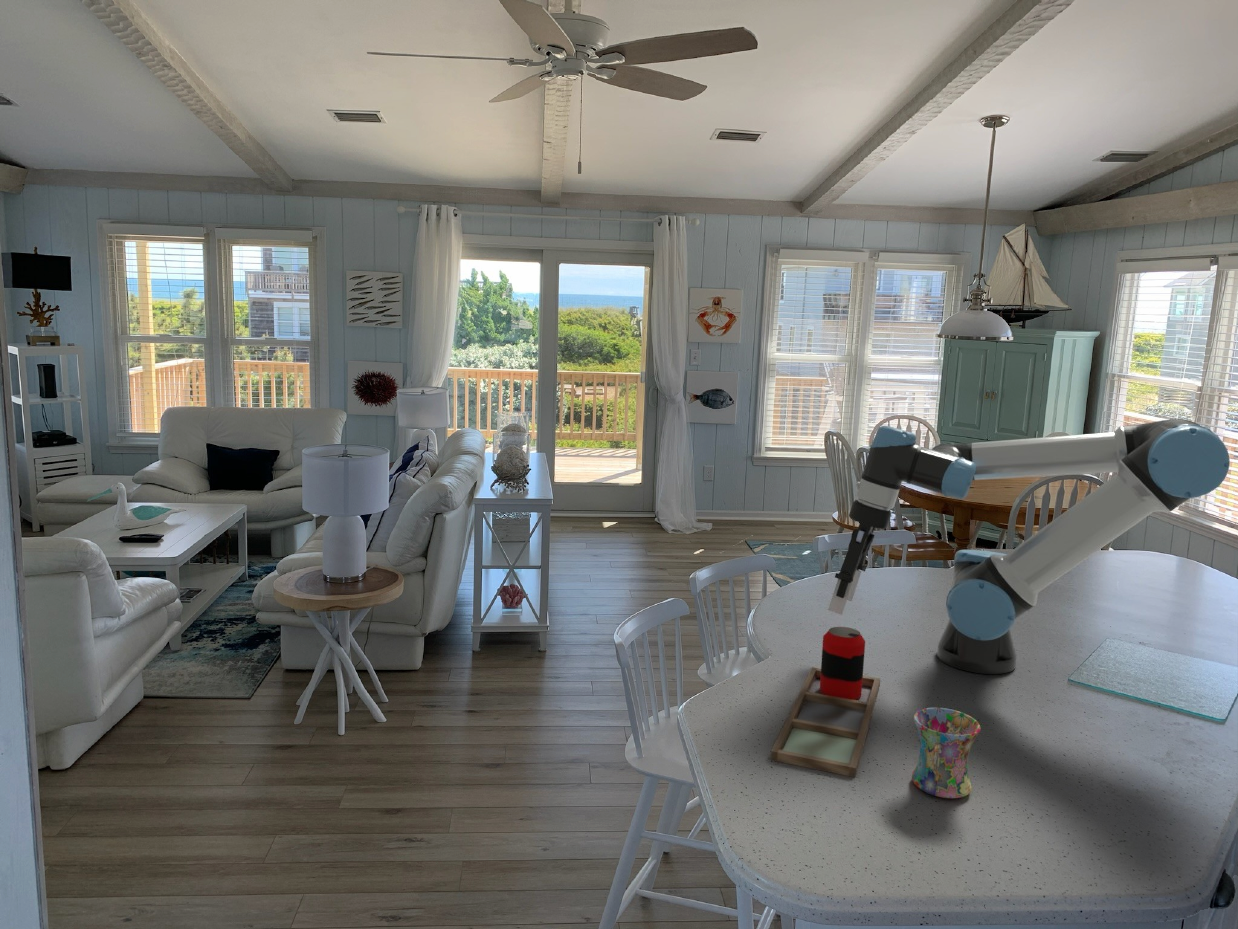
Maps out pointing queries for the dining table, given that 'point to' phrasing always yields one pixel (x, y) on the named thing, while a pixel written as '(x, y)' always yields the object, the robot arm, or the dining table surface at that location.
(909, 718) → the dining table surface
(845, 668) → the soda can
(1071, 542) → the robot arm
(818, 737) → the frame
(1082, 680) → the dining table surface
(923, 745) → the mug
